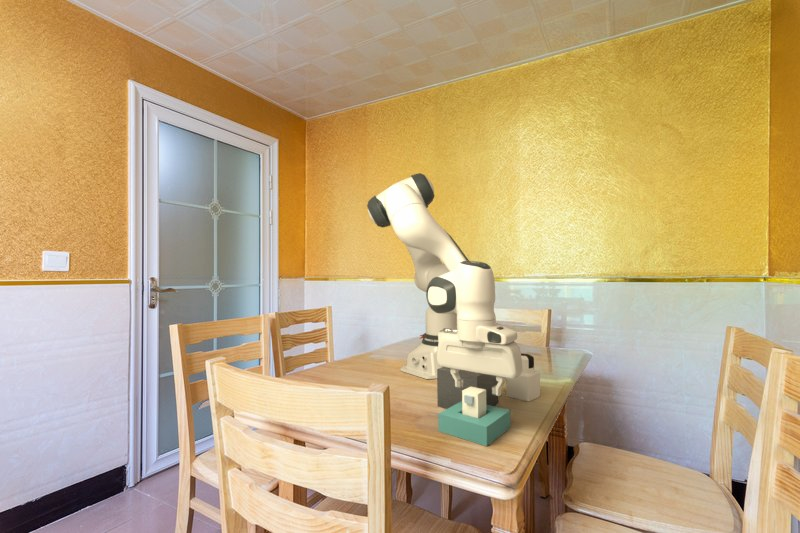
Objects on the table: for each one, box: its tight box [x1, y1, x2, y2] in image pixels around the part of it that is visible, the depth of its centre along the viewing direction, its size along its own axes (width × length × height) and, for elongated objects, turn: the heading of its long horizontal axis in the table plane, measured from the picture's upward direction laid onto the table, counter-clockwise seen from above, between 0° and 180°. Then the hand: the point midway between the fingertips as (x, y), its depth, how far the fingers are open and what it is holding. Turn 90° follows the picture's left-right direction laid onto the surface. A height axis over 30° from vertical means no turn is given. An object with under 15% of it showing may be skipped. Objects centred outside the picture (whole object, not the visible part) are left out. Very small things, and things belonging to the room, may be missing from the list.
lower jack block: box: [437, 401, 511, 447], centre depth 87 cm, size 12×12×4 cm
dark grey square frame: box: [436, 367, 500, 410], centre depth 103 cm, size 12×12×10 cm
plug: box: [462, 387, 486, 418], centre depth 87 cm, size 4×5×9 cm
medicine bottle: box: [505, 353, 541, 402], centre depth 109 cm, size 7×7×12 cm
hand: (477, 391), depth 87 cm, fingers open, 8 cm apart
